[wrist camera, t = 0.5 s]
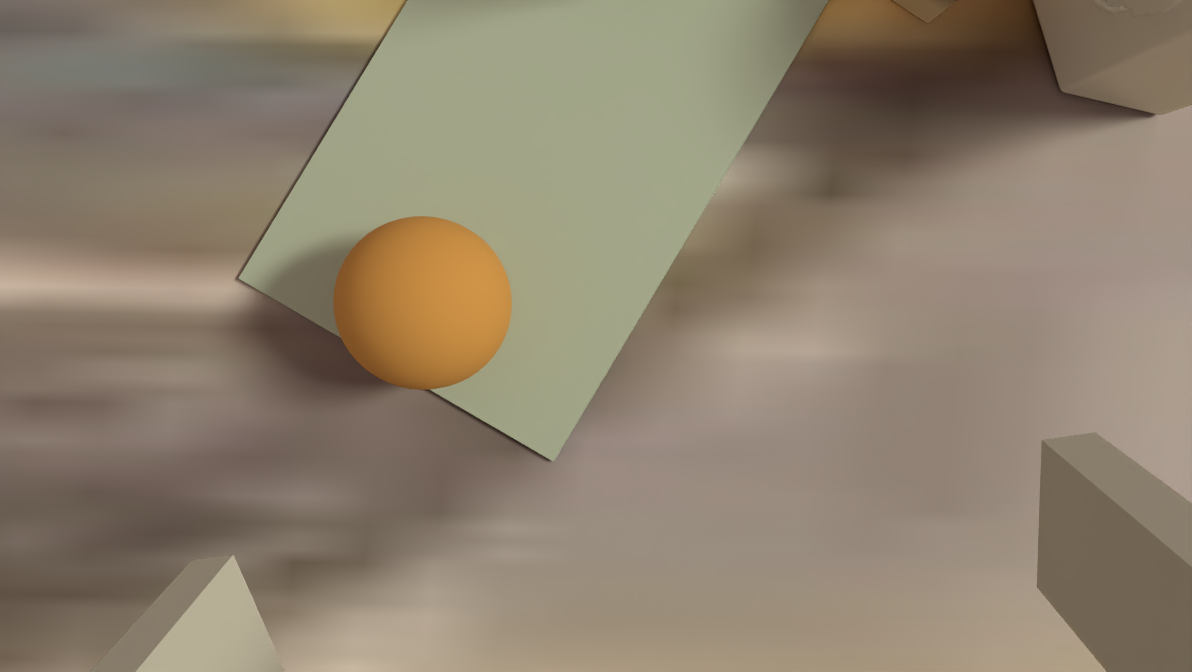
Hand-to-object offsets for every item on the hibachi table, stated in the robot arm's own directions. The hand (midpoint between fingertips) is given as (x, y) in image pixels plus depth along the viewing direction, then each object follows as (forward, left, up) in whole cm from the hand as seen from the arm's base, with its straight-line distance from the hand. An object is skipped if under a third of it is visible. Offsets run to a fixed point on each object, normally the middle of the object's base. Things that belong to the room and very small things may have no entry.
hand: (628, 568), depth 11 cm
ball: (+1, +7, -13) cm, 15 cm away
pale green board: (+14, +7, -16) cm, 23 cm away
